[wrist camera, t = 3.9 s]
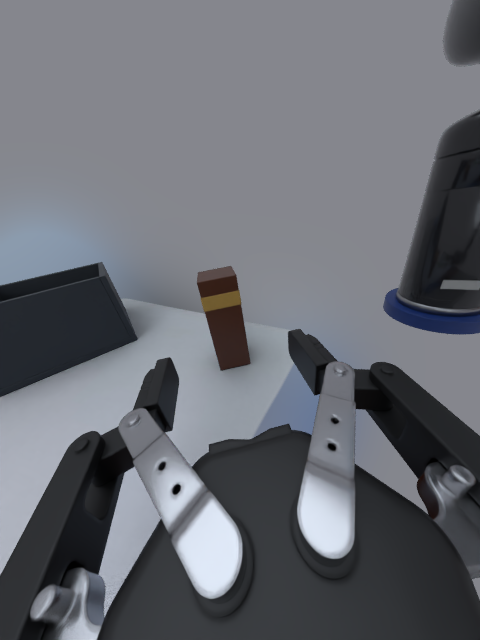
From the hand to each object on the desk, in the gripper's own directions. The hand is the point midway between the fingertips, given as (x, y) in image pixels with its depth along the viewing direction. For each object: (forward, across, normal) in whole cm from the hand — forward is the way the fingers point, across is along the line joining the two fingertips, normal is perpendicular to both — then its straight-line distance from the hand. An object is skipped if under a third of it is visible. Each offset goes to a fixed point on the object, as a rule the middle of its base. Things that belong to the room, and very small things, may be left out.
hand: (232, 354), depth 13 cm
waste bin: (+26, +29, +9) cm, 40 cm away
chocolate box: (+11, 0, +9) cm, 14 cm away
